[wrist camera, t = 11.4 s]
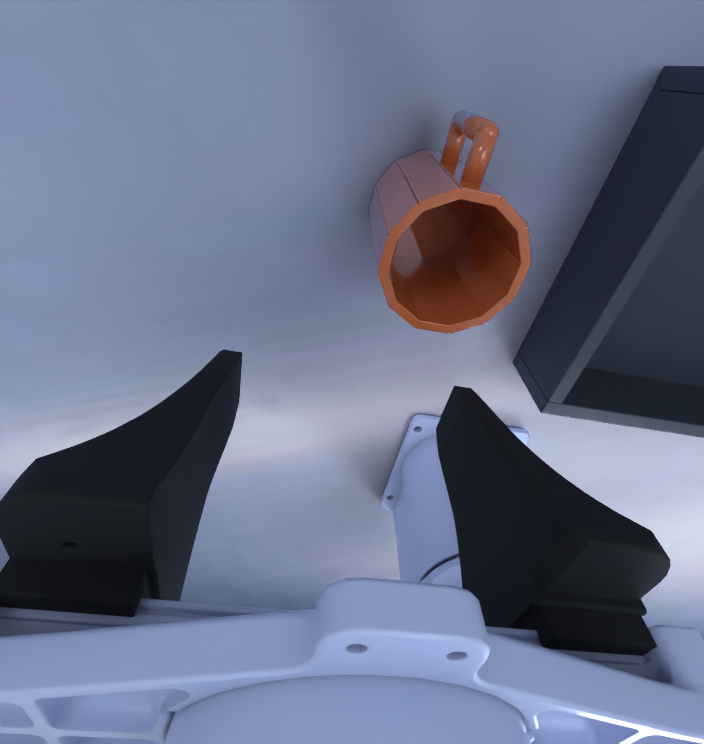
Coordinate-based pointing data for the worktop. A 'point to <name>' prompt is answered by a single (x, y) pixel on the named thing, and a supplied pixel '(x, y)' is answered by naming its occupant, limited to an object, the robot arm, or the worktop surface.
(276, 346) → the worktop surface
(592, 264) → the bin
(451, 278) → the cup
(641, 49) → the worktop surface
